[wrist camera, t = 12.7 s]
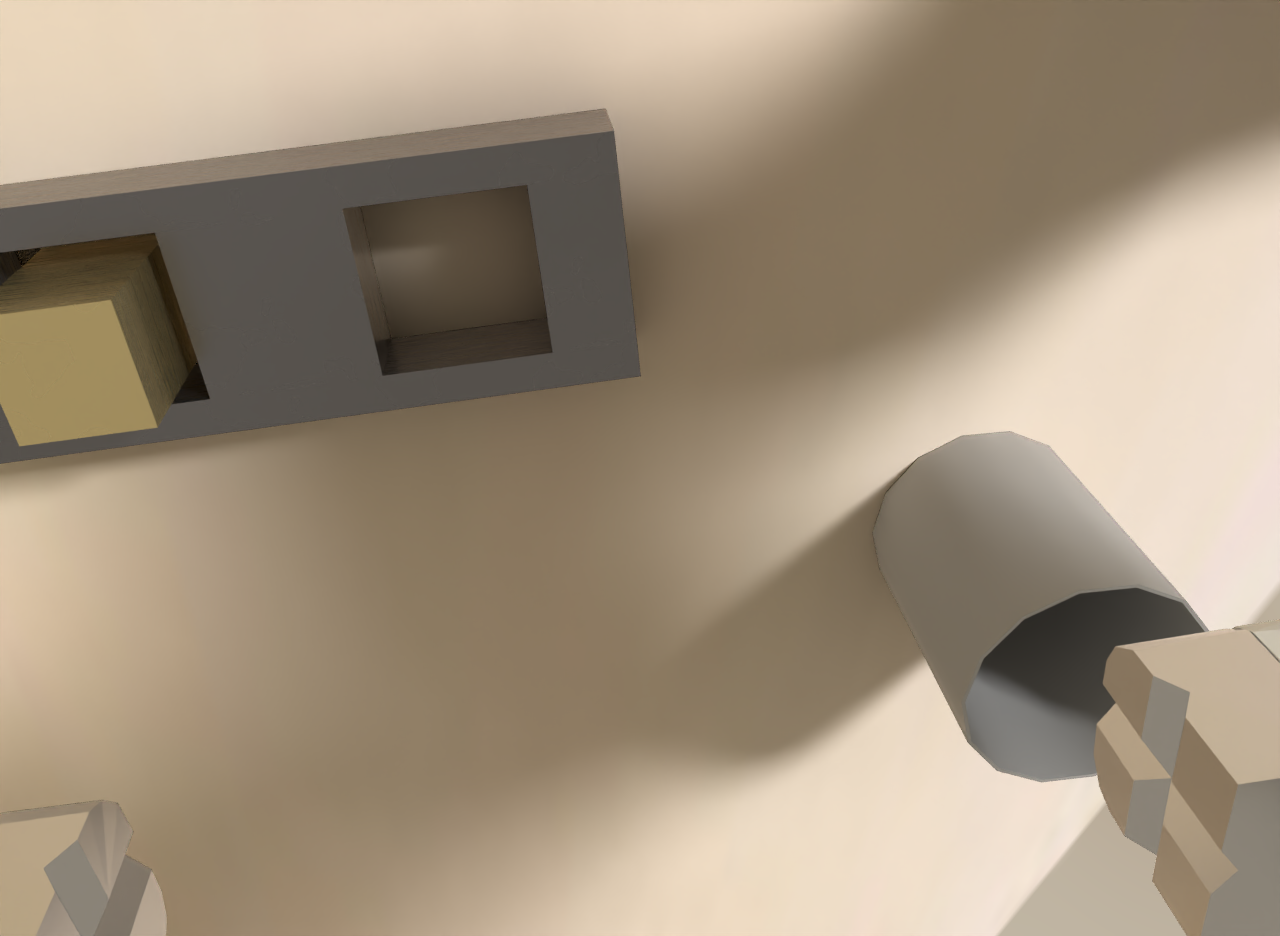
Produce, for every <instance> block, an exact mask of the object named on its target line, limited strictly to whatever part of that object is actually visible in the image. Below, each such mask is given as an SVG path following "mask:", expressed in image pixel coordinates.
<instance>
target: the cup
mask: <svg viewBox="0 0 1280 936" xmlns="http://www.w3.org/2000/svg"><path fill="white" fill-rule="evenodd" d="M872 533H873V538H874V544H875V549H876V554H877V559H878V564H879V569H880V571H881V573H882V575H883V577H884V579H885V581H886V583H887V585H888V587H889V588H890V590H891V592H892V594H893V596H894V598H895V600H896V602H897V604H898V606H899V608H900V610H901V612H902V614H903V616H904V618H905V620H906V622H907V624H908V626H909V628H910V630H911V632H912V634H913V636H914V638H915V640H916V642H917V644H918V646H919V647H920V649H921V651H922V653H923V655H924V657H925V659H926V661H927V663H928V665H929V667H930V669H931V671H932V673H933V675H934V677H935V679H936V681H937V683H938V685H939V687H940V689H941V691H942V693H943V695H944V697H945V699H946V701H947V703H948V705H949V706H950V708H951V710H952V712H953V714H954V716H955V718H956V720H957V722H958V724H959V726H960V728H961V730H962V732H963V734H964V736H965V738H966V740H967V742H968V743H969V744H970V745H971V746H972V747H973V748H974V749H975V750H976V751H977V752H978V753H979V754H980V755H981V756H982V757H983V758H984V759H985V760H986V761H987V762H988V763H989V764H990V765H991V766H992V767H993V768H995V769H996V770H997V771H1000V772H1004V773H1008V774H1011V775H1015V776H1019V777H1023V778H1027V779H1031V780H1035V781H1038V782H1048V781H1057V780H1066V779H1074V778H1083V777H1092V776H1096V775H1097V771H1096V765H1095V760H1094V745H1095V735H1096V725H1097V723H1098V722H1099V721H1100V720H1101V719H1102V718H1103V716H1104V715H1105V714H1106V713H1107V712H1108V711H1109V710H1110V709H1111V708H1112V707H1113V705H1114V704H1115V703H1116V702H1115V701H1114V699H1113V698H1112V696H1111V695H1110V694H1109V692H1108V691H1107V689H1106V688H1105V686H1104V685H1103V679H1104V673H1105V667H1106V661H1107V659H1108V657H1109V656H1110V654H1111V653H1112V651H1113V649H1114V648H1115V646H1121V645H1127V644H1133V643H1140V642H1146V641H1152V640H1158V639H1165V638H1171V637H1177V636H1183V635H1190V634H1196V633H1202V632H1208V631H1209V630H1208V629H1207V627H1206V626H1205V625H1204V623H1203V622H1202V621H1201V619H1200V618H1199V617H1198V616H1197V614H1196V613H1195V612H1194V610H1193V609H1192V608H1191V607H1190V605H1189V604H1188V603H1187V601H1186V600H1185V599H1184V598H1183V597H1182V596H1181V594H1180V593H1179V592H1178V591H1177V590H1176V589H1175V588H1174V586H1173V585H1172V584H1171V583H1170V582H1169V581H1168V580H1167V579H1166V577H1165V576H1164V575H1163V574H1162V573H1161V572H1160V571H1159V570H1158V568H1157V567H1156V566H1155V565H1154V564H1153V563H1152V562H1151V560H1150V559H1149V558H1148V557H1147V556H1146V555H1145V554H1144V553H1143V551H1142V550H1141V549H1140V548H1139V547H1138V546H1137V545H1136V544H1135V542H1134V541H1133V540H1132V539H1131V538H1130V537H1129V536H1128V535H1127V533H1126V532H1125V531H1124V530H1123V529H1122V528H1121V527H1120V525H1119V524H1118V523H1117V522H1116V521H1115V520H1114V519H1113V518H1112V516H1111V515H1110V514H1109V513H1108V512H1107V511H1106V510H1105V509H1104V507H1103V506H1102V505H1101V504H1100V503H1099V502H1098V501H1097V499H1096V498H1095V497H1094V496H1093V495H1092V494H1091V493H1090V492H1089V490H1088V489H1087V488H1086V487H1085V486H1084V485H1083V484H1082V483H1081V481H1080V480H1079V479H1078V478H1077V477H1076V476H1075V475H1074V474H1073V472H1072V471H1071V470H1070V469H1069V468H1068V467H1067V466H1066V464H1065V463H1064V462H1063V461H1062V460H1061V459H1060V458H1059V457H1058V455H1057V454H1056V453H1055V452H1054V451H1053V450H1052V449H1051V448H1050V446H1048V445H1045V444H1043V443H1040V442H1037V441H1034V440H1032V439H1029V438H1026V437H1024V436H1021V435H1018V434H1015V433H1013V432H1010V431H1009V432H998V433H987V434H977V435H966V436H961V437H959V438H957V439H955V440H953V441H951V442H949V443H947V444H945V445H943V446H941V447H939V448H937V449H935V450H933V451H931V452H929V453H927V454H925V455H923V456H921V457H919V458H917V460H916V461H915V462H914V463H913V464H912V465H911V466H910V467H909V468H908V469H907V470H906V472H905V473H904V474H903V475H902V476H901V477H900V478H899V479H898V480H897V481H896V482H895V484H894V485H893V486H892V487H891V488H890V489H889V490H888V491H887V492H886V494H885V497H884V500H883V503H882V506H881V509H880V512H879V515H878V517H877V520H876V523H875V526H874V529H873V532H872Z"/></svg>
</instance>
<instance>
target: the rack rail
mask: <svg viewBox="0 0 1280 936" xmlns="http://www.w3.org/2000/svg"><path fill="white" fill-rule="evenodd" d="M522 185H527V188H528V194H529V201H530V207H531V214H532V220H533V227H534V234H535V240H536V247H537V253H538V260H539V266H540V273H541V279H542V286H543V293H544V299H545V306H546V312H547V318H543V319H536V320H528V321H521V322H513V323H506V324H498V325H491V326H483V327H476V328H469V329H461V330H454V331H446V332H439V333H431V334H424V335H416V336H409V337H401V338H394V339H391V337H390V333H389V328H388V324H387V320H386V315H385V311H384V307H383V302H382V298H381V294H380V290H379V285H378V281H377V277H376V272H375V268H374V264H373V260H372V255H371V251H370V247H369V242H368V238H367V234H366V230H365V225H364V221H363V217H362V212H361V208H360V206H367V205H374V204H382V203H390V202H398V201H405V200H413V199H421V198H429V197H437V196H444V195H452V194H460V193H468V192H475V191H483V190H491V189H499V188H506V187H514V186H522ZM149 233H155V235H156V238H157V241H158V244H159V247H160V250H161V253H162V256H163V259H164V262H165V265H166V268H167V271H168V274H169V277H170V280H171V283H172V286H173V289H174V292H175V295H176V298H177V301H178V304H179V307H180V310H181V313H182V316H183V319H184V322H185V325H186V328H187V331H188V334H189V337H190V340H191V343H192V346H193V349H194V352H195V355H196V358H197V361H198V364H199V365H194V366H193V368H192V370H191V372H190V373H189V375H188V377H187V378H186V380H185V382H184V383H183V385H182V387H181V389H180V390H179V392H178V394H177V395H176V397H175V399H174V401H173V402H172V404H171V406H170V407H169V409H168V411H167V413H166V414H165V416H164V418H163V419H162V421H161V423H160V425H159V426H158V428H151V429H144V430H136V431H129V432H122V433H114V434H107V435H100V436H92V437H85V438H78V439H70V440H63V441H55V442H48V443H41V444H33V445H26V446H19V444H18V442H17V440H16V438H15V435H14V433H13V431H12V429H11V426H10V424H9V422H8V420H7V417H6V415H5V413H4V411H3V408H2V406H1V404H0V464H1V463H9V462H16V461H23V460H31V459H38V458H45V457H52V456H60V455H67V454H74V453H82V452H89V451H96V450H104V449H111V448H118V447H126V446H133V445H140V444H148V443H155V442H162V441H170V440H177V439H184V438H191V437H199V436H206V435H213V434H221V433H228V432H235V431H243V430H250V429H257V428H265V427H272V426H279V425H287V424H294V423H301V422H308V421H316V420H323V419H330V418H338V417H345V416H352V415H360V414H367V413H374V412H382V411H389V410H396V409H404V408H411V407H418V406H426V405H433V404H440V403H447V402H455V401H462V400H469V399H477V398H484V397H491V396H499V395H506V394H513V393H521V392H528V391H535V390H543V389H550V388H557V387H564V386H572V385H579V384H586V383H594V382H601V381H608V380H616V379H623V378H630V377H638V376H641V375H640V365H639V356H638V347H637V338H636V329H635V320H634V311H633V301H632V292H631V283H630V274H629V265H628V256H627V246H626V237H625V228H624V219H623V210H622V201H621V192H620V182H619V173H618V164H617V155H616V146H615V137H614V130H613V127H612V124H611V122H610V119H609V116H608V114H607V111H606V109H600V110H592V111H584V112H576V113H568V114H560V115H552V116H544V117H536V118H528V119H521V120H513V121H505V122H497V123H489V124H481V125H473V126H465V127H457V128H449V129H441V130H433V131H425V132H417V133H410V134H402V135H394V136H386V137H378V138H370V139H362V140H354V141H346V142H338V143H330V144H322V145H314V146H307V147H299V148H291V149H283V150H275V151H267V152H259V153H251V154H243V155H235V156H227V157H219V158H211V159H203V160H196V161H188V162H180V163H172V164H164V165H156V166H148V167H140V168H132V169H124V170H116V171H108V172H100V173H92V174H85V175H77V176H69V177H61V178H53V179H45V180H37V181H29V182H21V183H13V184H5V185H0V286H1V285H2V284H3V283H4V282H5V281H6V280H7V279H8V278H10V277H11V276H12V275H13V274H14V273H15V272H16V271H17V270H19V269H20V268H21V264H20V262H19V259H18V257H17V254H16V252H15V251H17V250H25V249H32V248H40V247H48V246H56V245H64V244H71V243H79V242H87V241H95V240H102V239H110V238H118V237H126V236H133V235H141V234H149Z"/></svg>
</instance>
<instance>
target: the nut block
mask: <svg viewBox="0 0 1280 936" xmlns="http://www.w3.org/2000/svg"><path fill="white" fill-rule="evenodd" d="M196 361H197V358H196V355H195V352H194V349H193V346H192V343H191V340H190V337H189V334H188V331H187V328H186V325H185V322H184V319H183V316H182V313H181V310H180V307H179V304H178V301H177V298H176V295H175V292H174V289H173V286H172V283H171V280H170V277H169V274H168V271H167V268H166V265H165V262H164V259H163V256H162V253H161V250H160V247H159V244H158V241H157V238H156V235H155V234H147V235H140V236H132V237H124V238H116V239H109V240H101V241H93V242H85V243H78V244H70V245H62V246H54V247H47V248H42V249H41V250H40V251H39V252H37V253H36V254H35V255H34V256H33V257H32V258H31V259H30V260H29V261H27V262H26V263H25V264H24V265H23V266H22V267H21V268H20V269H19V270H17V271H16V272H15V273H14V274H13V275H12V276H11V277H10V278H8V279H7V280H6V281H5V282H4V283H3V284H2V285H1V286H0V404H1V406H2V408H3V411H4V413H5V415H6V417H7V420H8V422H9V424H10V426H11V429H12V431H13V433H14V435H15V438H16V440H17V442H18V444H19V446H26V445H33V444H41V443H48V442H55V441H63V440H70V439H78V438H85V437H92V436H100V435H107V434H114V433H122V432H129V431H136V430H144V429H151V428H158V426H159V425H160V423H161V421H162V419H163V418H164V416H165V414H166V413H167V411H168V409H169V407H170V406H171V404H172V402H173V401H174V399H175V397H176V395H177V394H178V392H179V390H180V389H181V387H182V385H183V383H184V382H185V380H186V378H187V377H188V375H189V373H190V372H191V370H192V368H193V366H194V365H195V363H196Z"/></svg>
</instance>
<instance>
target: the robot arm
mask: <svg viewBox="0 0 1280 936" xmlns="http://www.w3.org/2000/svg"><path fill="white" fill-rule="evenodd" d="M1103 685H1104V686H1105V688H1106V689H1107V691H1108V692H1109V694H1110V695H1111V696H1112V698H1113V699H1114V701H1115V702H1116V703H1115V704H1114V705H1113V707H1112V708H1111V709H1110V710H1109V711H1108V712H1107V713H1106V714H1105V715H1104V716H1103V718H1102V719H1101V720H1100V721H1099V722H1098V723H1097V725H1096V735H1095V745H1094V760H1095V765H1096V771H1097V776H1098V782H1099V787H1100V789H1101V792H1102V794H1103V797H1104V799H1105V801H1106V804H1107V806H1108V809H1109V811H1110V813H1111V815H1112V816H1113V818H1114V819H1115V821H1116V823H1117V825H1118V826H1119V828H1120V830H1121V831H1122V833H1123V835H1124V836H1125V837H1127V838H1129V839H1130V840H1132V841H1134V842H1135V843H1137V844H1139V845H1140V846H1142V847H1144V848H1146V849H1147V850H1149V851H1151V852H1152V853H1154V854H1156V855H1157V857H1156V863H1155V868H1154V873H1153V879H1152V881H1153V883H1154V884H1155V886H1156V887H1157V889H1158V891H1159V892H1160V894H1161V895H1162V897H1163V898H1164V900H1165V902H1166V903H1167V905H1168V907H1169V908H1170V910H1171V911H1172V913H1173V914H1174V916H1175V918H1176V919H1177V921H1178V922H1179V924H1180V925H1181V927H1182V929H1183V930H1184V932H1185V933H1186V935H1187V936H1280V619H1279V620H1273V621H1267V622H1260V623H1254V624H1248V625H1242V626H1236V627H1234V628H1233V629H1221V630H1215V631H1208V632H1202V633H1196V634H1190V635H1183V636H1177V637H1171V638H1165V639H1158V640H1152V641H1146V642H1140V643H1133V644H1127V645H1121V646H1115V648H1114V649H1113V651H1112V653H1111V654H1110V656H1109V657H1108V659H1107V661H1106V667H1105V673H1104V679H1103ZM132 834H133V830H132V828H131V826H130V824H129V822H128V821H127V819H126V817H125V815H124V813H123V812H122V810H121V808H120V806H119V804H118V803H116V802H110V801H105V800H98V801H90V802H83V803H75V804H67V805H59V806H51V807H43V808H35V809H27V810H20V811H12V812H4V813H0V936H166V928H167V915H166V910H165V905H164V900H163V896H162V891H161V888H160V886H159V884H158V882H157V880H156V878H155V875H154V873H153V871H152V869H150V868H148V867H146V866H145V865H143V864H141V863H139V862H138V861H136V860H134V859H132V858H131V857H129V856H127V855H125V853H126V851H127V848H128V845H129V842H130V840H131V837H132Z"/></svg>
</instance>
